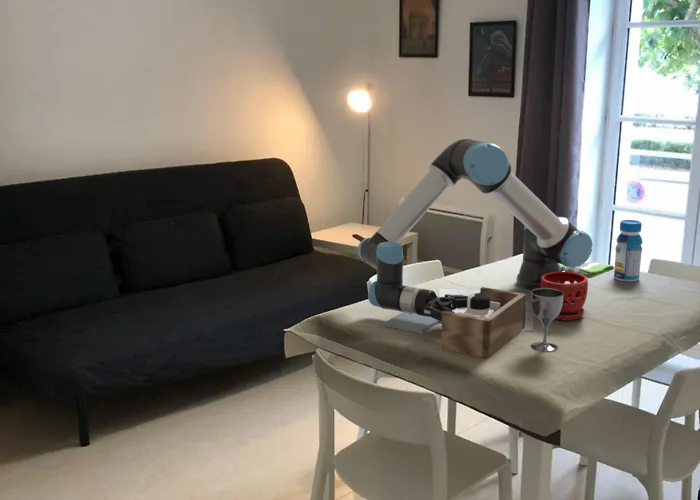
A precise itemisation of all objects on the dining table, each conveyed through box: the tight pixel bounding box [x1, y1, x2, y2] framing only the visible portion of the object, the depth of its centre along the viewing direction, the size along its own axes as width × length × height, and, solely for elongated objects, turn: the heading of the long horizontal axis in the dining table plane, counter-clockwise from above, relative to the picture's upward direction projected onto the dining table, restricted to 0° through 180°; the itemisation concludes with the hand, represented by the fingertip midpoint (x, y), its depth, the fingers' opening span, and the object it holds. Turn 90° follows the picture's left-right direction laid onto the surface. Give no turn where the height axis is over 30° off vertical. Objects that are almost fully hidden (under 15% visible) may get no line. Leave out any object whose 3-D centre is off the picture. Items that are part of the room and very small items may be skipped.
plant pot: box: [541, 271, 589, 321], centre depth 216 cm, size 13×13×12 cm
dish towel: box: [559, 260, 615, 278], centre depth 269 cm, size 17×23×4 cm
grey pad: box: [383, 312, 440, 334], centre depth 213 cm, size 12×12×1 cm
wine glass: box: [530, 288, 563, 353], centre depth 192 cm, size 8×8×15 cm
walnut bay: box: [440, 286, 527, 359], centre depth 200 cm, size 13×26×10 cm, turn 147°
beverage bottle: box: [613, 219, 643, 283], centre depth 251 cm, size 8×8×20 cm
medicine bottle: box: [463, 292, 494, 318], centre depth 201 cm, size 7×7×12 cm
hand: (490, 314), depth 198 cm, fingers open, 12 cm apart
